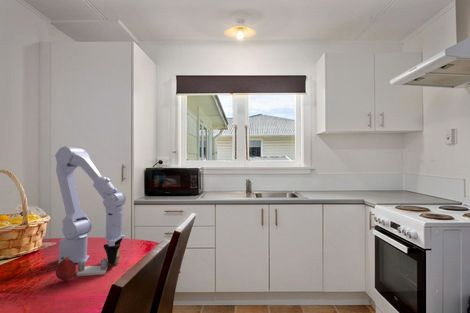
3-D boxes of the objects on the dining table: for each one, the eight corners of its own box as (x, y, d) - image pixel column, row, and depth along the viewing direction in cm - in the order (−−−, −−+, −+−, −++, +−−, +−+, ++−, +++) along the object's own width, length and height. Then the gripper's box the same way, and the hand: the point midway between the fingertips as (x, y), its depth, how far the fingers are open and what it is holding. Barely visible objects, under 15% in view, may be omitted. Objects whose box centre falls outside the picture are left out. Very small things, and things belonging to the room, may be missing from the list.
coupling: (105, 266, 117) (106, 250, 117) (107, 262, 121) (107, 246, 121) (118, 265, 118) (119, 249, 118) (119, 261, 122) (120, 246, 123)
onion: (61, 286, 98) (62, 260, 98) (51, 282, 101) (52, 257, 101) (79, 280, 103) (79, 256, 103) (69, 276, 106) (69, 252, 106)
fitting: (76, 276, 107) (76, 263, 107) (80, 269, 114) (81, 256, 114) (104, 274, 109) (105, 261, 109) (107, 267, 116) (107, 255, 116)
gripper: (123, 228, 114) (122, 265, 114) (126, 220, 128) (125, 253, 128) (102, 228, 112) (101, 267, 112) (107, 220, 126) (106, 254, 126)
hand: (113, 260), depth 120 cm, fingers open, 7 cm apart
